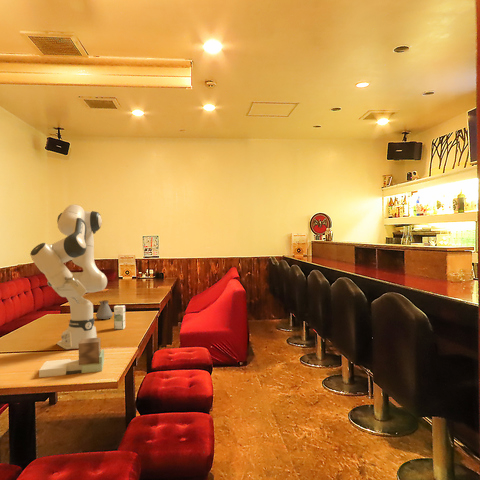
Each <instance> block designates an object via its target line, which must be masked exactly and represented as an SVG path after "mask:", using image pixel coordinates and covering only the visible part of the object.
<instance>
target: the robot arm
mask: <svg viewBox="0 0 480 480" xmlns="http://www.w3.org/2000/svg"><path fill="white" fill-rule="evenodd" d="M56 221H57V228H58V230H59V232H60V233H62V234H63V235H64V236H65V237H64V238H62V239H59V240H58V241H56V242H54V243H49V244H48V243H46V242H42V243H39V244H37V245H36V246H35V247H34V248H33V249H32V250H30V253H29V255H30V258H31V260H32V261H33V263H34V265H35V266H36V267H37V269H39V271H40V272H41V273H42V274H44V276H45V278H46V279H47V285H48V286H49V287H51V288H52V289H53V290H54V292H55V293H57V295H58V296H60V297H61V298H66V299H67V301H68V304H69V308H70V309H69V310H70V319H69V320H67V321H68V326H67V328H66V329H65V330H64V331H63V332H62V333H61V336H60V338H61V340H59V341H57V342H56V345H58V346H59V347H60V348H63V349H64V350H73V349H74V350H75V349H77V350H79V342H80V340H81V339H87V338H98V337H97V336H98V335H97V327H96V326H95V318H94V304H93V302H91V300H89V299H87V298H84V295H86V293H88V294H89V293H97V292H103V291H104V290H105V289H106V287H107V285H108V278H107V276H106V275H105V273H104V272H102V271H101V270H100V269H99V268H98V267H97V265H96V262H95V239H94V234H96V232H98V231H99V230H100V229H101V227H102V223H103V219H102V216H101V214H100V213H99V212H98V211H94V210H92V211H90V210H89V211H88V210H84V208H83V207H82V206H80V205H79V204H73V203H72V204H70V205H68V206H67V207H65V209H64V210H63V211H62V212H60V213H59V215H58V216H57V219H56ZM69 261H72V263H73V264H74V265H76V266H78V267H80V268H82V271H81V272H80V271H79V272H77V271H76V272H72V271H70V269H69V268H68V267H67V266H66V265H65V263H68V262H69Z"/></svg>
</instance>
